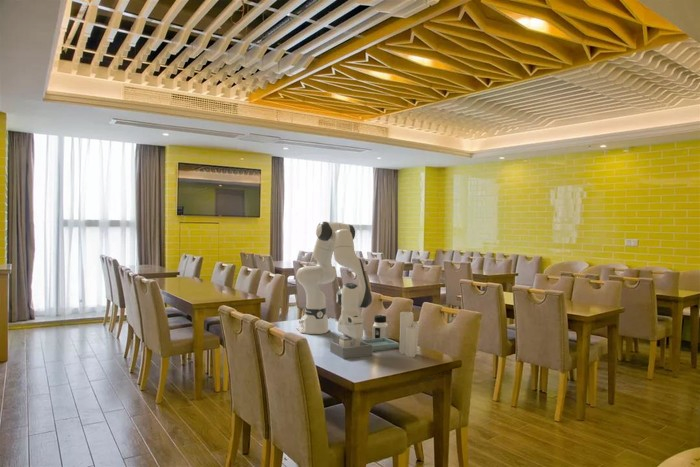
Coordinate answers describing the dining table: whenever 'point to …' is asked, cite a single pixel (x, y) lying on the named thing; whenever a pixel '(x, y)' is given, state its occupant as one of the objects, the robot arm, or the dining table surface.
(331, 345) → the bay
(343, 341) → the caddy
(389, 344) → the tray
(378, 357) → the dining table surface
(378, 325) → the container
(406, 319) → the candle
